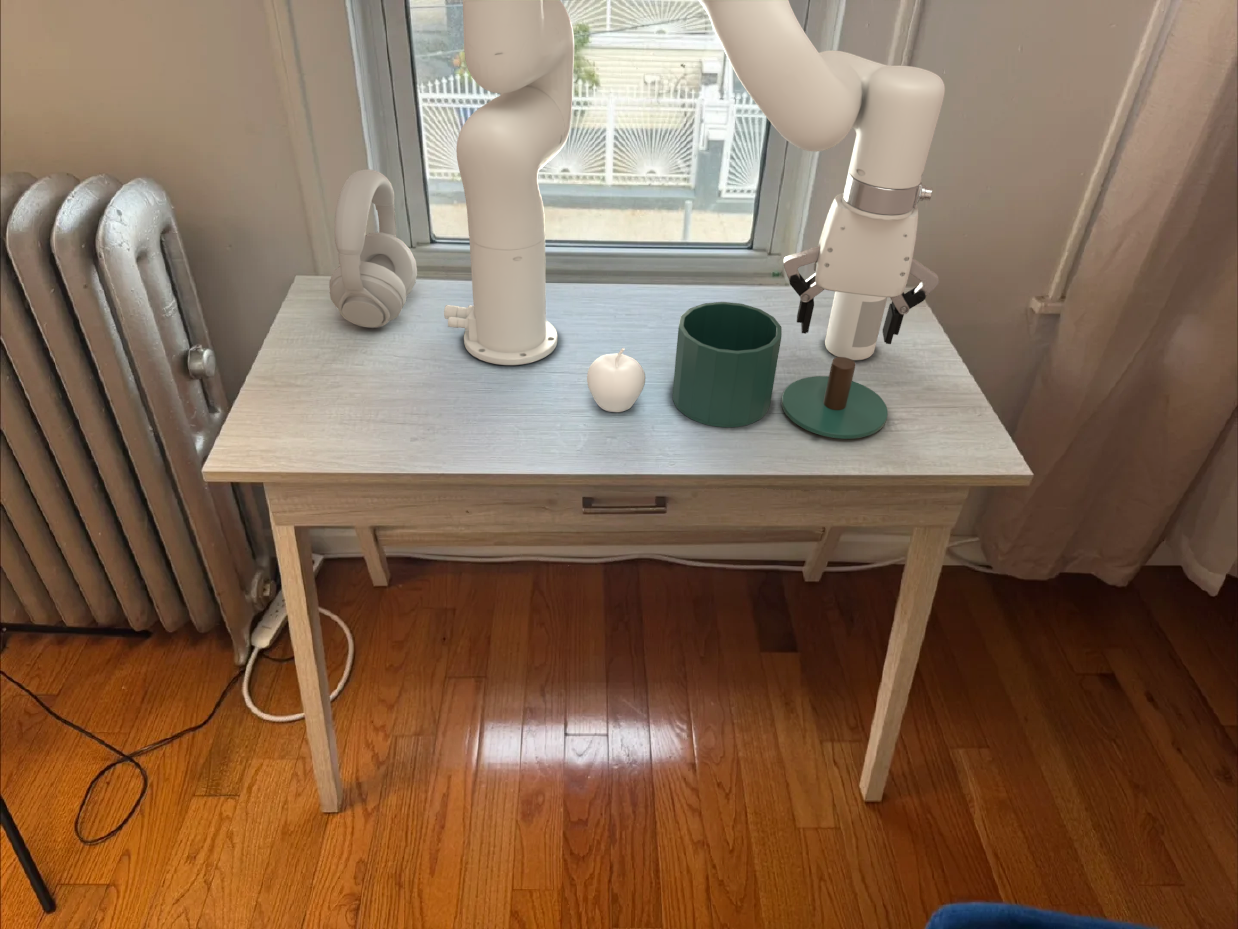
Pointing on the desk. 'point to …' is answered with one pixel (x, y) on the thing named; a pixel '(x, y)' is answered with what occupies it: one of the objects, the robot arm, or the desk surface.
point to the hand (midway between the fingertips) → (845, 332)
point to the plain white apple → (615, 381)
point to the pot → (725, 363)
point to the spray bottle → (854, 325)
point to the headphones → (369, 254)
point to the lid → (835, 404)
